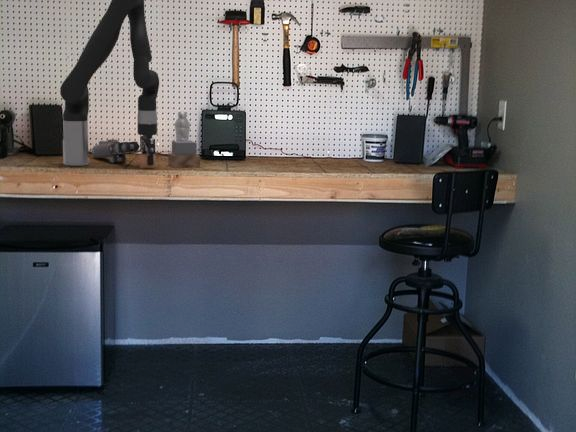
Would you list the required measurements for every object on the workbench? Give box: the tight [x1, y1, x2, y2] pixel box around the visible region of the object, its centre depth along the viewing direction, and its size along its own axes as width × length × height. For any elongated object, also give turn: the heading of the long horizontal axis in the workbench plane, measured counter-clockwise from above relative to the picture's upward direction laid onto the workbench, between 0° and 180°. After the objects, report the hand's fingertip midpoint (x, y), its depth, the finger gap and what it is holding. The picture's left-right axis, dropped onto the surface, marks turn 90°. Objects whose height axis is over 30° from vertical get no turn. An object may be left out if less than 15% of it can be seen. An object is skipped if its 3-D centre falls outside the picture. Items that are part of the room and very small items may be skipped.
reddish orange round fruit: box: [139, 153, 156, 169], centre depth 297 cm, size 6×6×5 cm
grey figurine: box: [174, 111, 191, 141], centre depth 324 cm, size 6×7×20 cm
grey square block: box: [171, 140, 198, 156], centre depth 302 cm, size 8×8×5 cm
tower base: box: [167, 152, 201, 169], centre depth 303 cm, size 10×10×5 cm
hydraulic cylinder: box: [91, 138, 140, 164], centre depth 310 cm, size 7×37×10 cm, turn 38°
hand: (147, 164), depth 297 cm, fingers open, 8 cm apart
